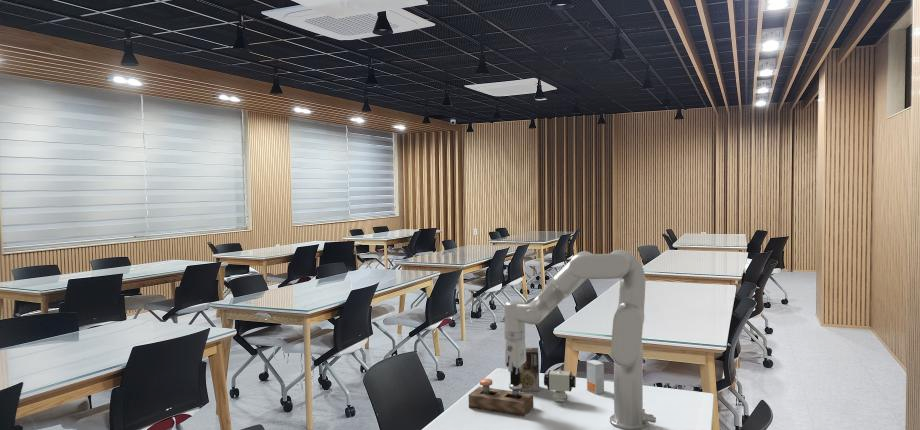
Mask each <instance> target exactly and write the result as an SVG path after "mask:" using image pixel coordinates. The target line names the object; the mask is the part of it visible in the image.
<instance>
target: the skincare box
mask: <svg viewBox="0 0 920 430" xmlns="http://www.w3.org/2000/svg"><path fill="white" fill-rule="evenodd" d="M586 390H587V391H589V392H591V393H593V394H594V395H600V394H604V393H605V364H604V363H603V362H602V361H599V360H596V359H590V360H586Z"/></svg>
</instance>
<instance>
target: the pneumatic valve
mask: <svg viewBox="0 0 920 430" xmlns="http://www.w3.org/2000/svg"><path fill="white" fill-rule="evenodd" d="M543 384H544V386H546V388H547V390H548V391H554V392H552V399H553V400H554V402H556V403H565V402H566V401H567V400H568V393H566V392H572V389H573V388H575V389H576V385H577V379H576V375H574V374H573V371H566V370H561V369H558V370H550V369H549V370H548V372H547V373H544V376H543Z"/></svg>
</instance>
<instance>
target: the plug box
mask: <svg viewBox="0 0 920 430" xmlns="http://www.w3.org/2000/svg"><path fill="white" fill-rule="evenodd" d="M468 408H469V409H475V410H480V411H484V412H485V411H487V412H492V413H499V414H505V415H511V416H517V417H523V418H525V417H526V415H527V414H528V413H529V412H531V411H532V410H533V408H534V394H533V393H527V392H523V391H519V399H515V398H512V390H506V389H499V388H493V387H490V395H487V394H483V386H478V387H477V388H475V389H474V390H473V391H471V393H469V394H468Z"/></svg>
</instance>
